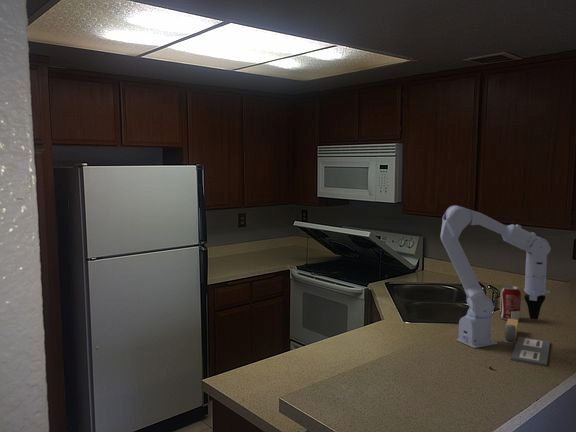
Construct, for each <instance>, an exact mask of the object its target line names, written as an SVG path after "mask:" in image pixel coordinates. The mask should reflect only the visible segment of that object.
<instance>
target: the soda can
mask: <svg viewBox="0 0 576 432" xmlns="http://www.w3.org/2000/svg"><path fill="white" fill-rule="evenodd" d="M521 296H522V292H521V291H520V287H518V286H515V285H503V286H502V288H501V290H500V298H499V299H500V300H499V302H500V305H499V306H500V307H499V317H500V318H501V319H502V320H504V321H507V320H508V318H509V319H517V320H518V321H519V320H520V319H521V301H522V300H521V299H522V297H521Z"/></svg>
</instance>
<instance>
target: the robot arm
mask: <svg viewBox="0 0 576 432" xmlns="http://www.w3.org/2000/svg"><path fill="white" fill-rule="evenodd" d="M441 218H442V223H441V229H440V230H441V231H440V241H441V243H442V245H443V246H444V247H443V248H445V250H446V253H447V255H448V257H449V259H450V261H451V264H452V266H453V268H454V270H455V271H456V274H457V276H458V278H459V281H460V282H461V284H462V287H463V289H464V293H465V294H466V300H465V301H466V304H467V306H468V307H469V308H468V310H467V312H466V314H465V315H464V316H462V317H461V318H460V319H459V322H458V338H456V341H458V342H459V343H462V344H465V345H467V346H469V347H471V348H474V349H478V348H483V347H488V346H493V345H498V342H497V341H495V340H492V323H493V322H492V317H493V316H492V314H493V312H494V309H495V306H494V302H493V300H491V299H490V298H489V297H488V296H487V295H486V293H485V291H484V290H483V288H482V286H481V285H480V282H479V280H478V277H476V274H475V272H474V271H473V268H472V266H471V264H470V262H469V260H468V257H467V256H466V253H465V252H464V249H463V247H462V244H461V243H460V241H459V238H460V235H461V234H462V233H463V230H464V229H465V228H466V227H468V225H470V226H476V225H477V226H478V225H479V226H481V227H484V228H485V229H488V230H491V231H493V232H495V233H497V234H499V235H501V237H502V240H503V241H504V242H506V243H508V244H509V245H512V246H513V247H516V248H518V249H520V250H523V251H525V252H526V253H525V254H526V255H525V257H526V258H525V275H524V277H525V278H524V288H523V292H525V293H526V294H525V295H523V296H524V297H523V298H524V300H525V302H526V306H527V308H528V315H529V319H530V320H537V321H538V319H539V316H540V313H541V309H542V308H541V307H542V305H543V303H544V302H545V299H546V295H547V294H548V295H549V294H550V293H551V291H550V289H548V290H547V289H546V286H547V285H546V284H547V266H548V265H547V263H548V262H547V261H548V258H547V257H548V255H549V253H550V252H551V249H552V247H551V246H550V243H549V242H548V240H547V239H545V238H543V237H541V236H538V235H537V234H536V233H535V232H533V231H531V232H530V231H528V230H526V229H524V228H522V225H521V224H513V223H511V224H509V225H506V224H503V223H501V222H499V221H497V220H495V219H493V218H491V217H490V216H488V215H486V214H483V213H482V212H479V211H475V210H473V209H469V208H466V207H463V206H460V205H456V204H455V205H451V206H449V207H448V208H447V209H446V210H445V212H444V214H443V216H442V217H441ZM545 294H546V295H545Z"/></svg>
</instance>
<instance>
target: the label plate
mask: <svg viewBox="0 0 576 432" xmlns="http://www.w3.org/2000/svg"><path fill="white" fill-rule="evenodd" d="M502 341H503V342H504V343H506V344H512V345H514V344H515V345H514V349H513V351H512V354H511V356H510V361H515V362H522V363H527V364H533V365H538V366H545V367H547V366H548V359H549V354H550V353H549V352H550V347H551V346H550V345H551V341H550V340H545V339H544V340H543V339H539V338H538V339H537V338H532V337H524V336H518V337H517V339H515V341H508V340H506V339H505V338H503V340H502Z"/></svg>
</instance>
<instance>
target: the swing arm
mask: <svg viewBox="0 0 576 432" xmlns="http://www.w3.org/2000/svg"><path fill="white" fill-rule="evenodd" d="M518 330H519V320H517V319H509V318H508V320H506V324H505V327H504V339H506V340H508V341H515V340H517V334H518V332H519V331H518Z"/></svg>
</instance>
